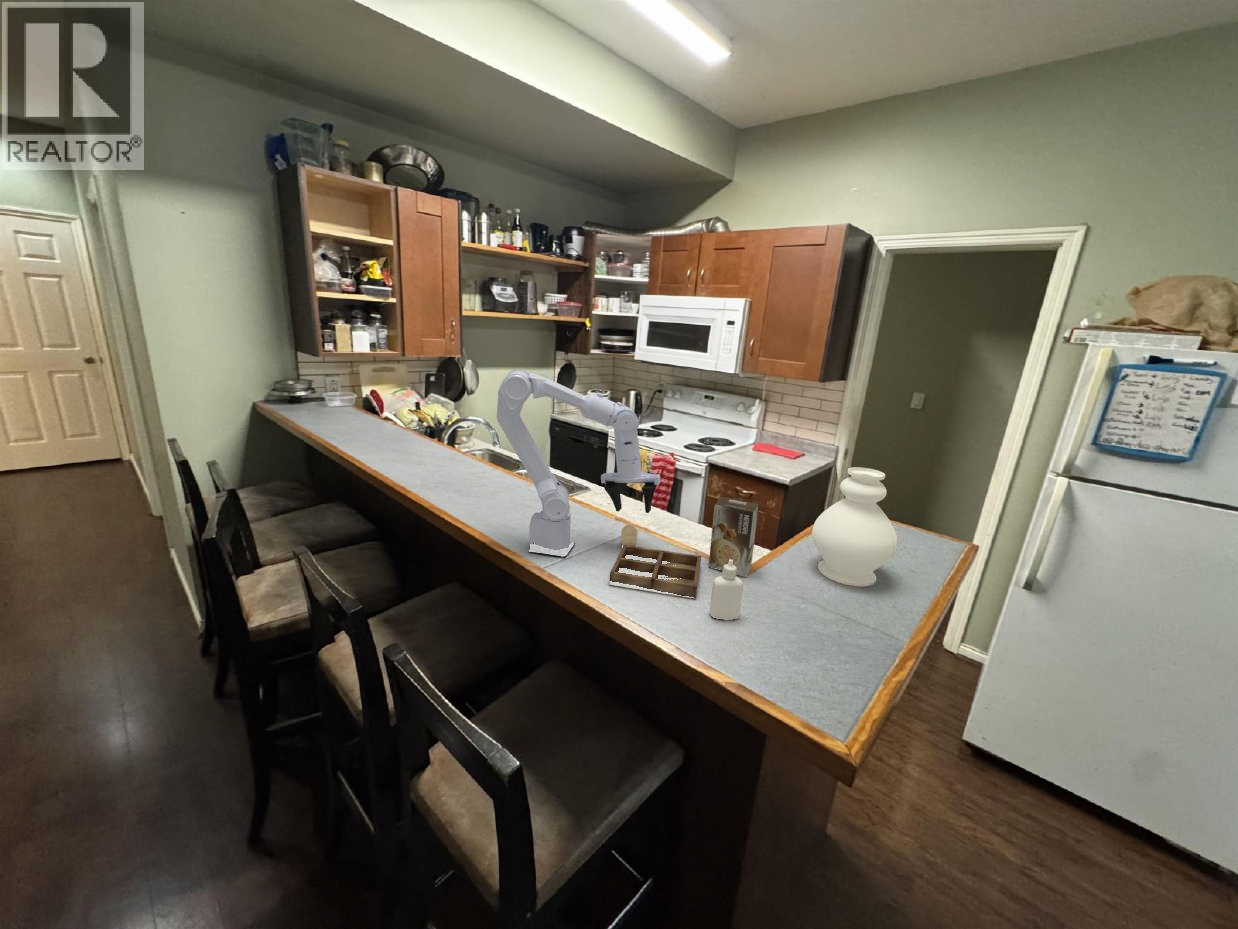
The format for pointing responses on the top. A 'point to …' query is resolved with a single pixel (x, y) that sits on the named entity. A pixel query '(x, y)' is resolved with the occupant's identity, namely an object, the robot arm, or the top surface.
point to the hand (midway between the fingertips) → (633, 510)
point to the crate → (659, 570)
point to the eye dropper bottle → (726, 594)
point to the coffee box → (733, 534)
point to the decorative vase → (855, 531)
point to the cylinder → (629, 535)
